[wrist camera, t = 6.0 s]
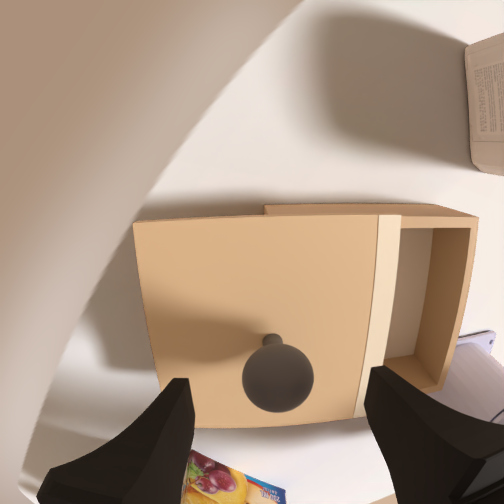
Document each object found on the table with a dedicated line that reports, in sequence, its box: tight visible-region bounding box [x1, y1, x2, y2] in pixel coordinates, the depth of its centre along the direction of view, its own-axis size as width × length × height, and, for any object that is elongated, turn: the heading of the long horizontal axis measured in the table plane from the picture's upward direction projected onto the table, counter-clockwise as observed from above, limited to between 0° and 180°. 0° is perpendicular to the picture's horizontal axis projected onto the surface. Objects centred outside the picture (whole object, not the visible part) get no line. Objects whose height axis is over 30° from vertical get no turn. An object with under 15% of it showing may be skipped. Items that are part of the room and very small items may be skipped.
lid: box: [133, 213, 401, 428], centre depth 14 cm, size 12×12×5 cm
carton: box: [264, 203, 479, 394], centre depth 19 cm, size 12×12×5 cm
